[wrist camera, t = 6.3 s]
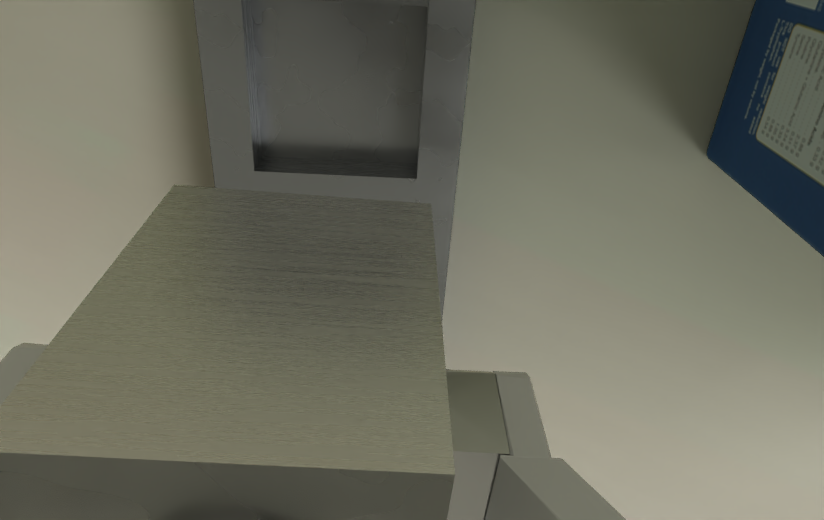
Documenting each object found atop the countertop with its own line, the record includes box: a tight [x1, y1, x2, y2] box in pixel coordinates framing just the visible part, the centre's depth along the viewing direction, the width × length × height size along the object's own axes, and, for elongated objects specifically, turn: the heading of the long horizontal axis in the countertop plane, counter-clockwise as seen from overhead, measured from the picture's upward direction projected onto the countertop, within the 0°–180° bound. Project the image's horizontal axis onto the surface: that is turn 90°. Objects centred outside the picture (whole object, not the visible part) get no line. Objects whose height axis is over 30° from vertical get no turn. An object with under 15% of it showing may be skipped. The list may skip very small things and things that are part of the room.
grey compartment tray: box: [193, 0, 476, 320], centre depth 22 cm, size 9×30×2 cm, turn 177°
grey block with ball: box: [0, 185, 455, 520], centre depth 9 cm, size 4×4×6 cm
